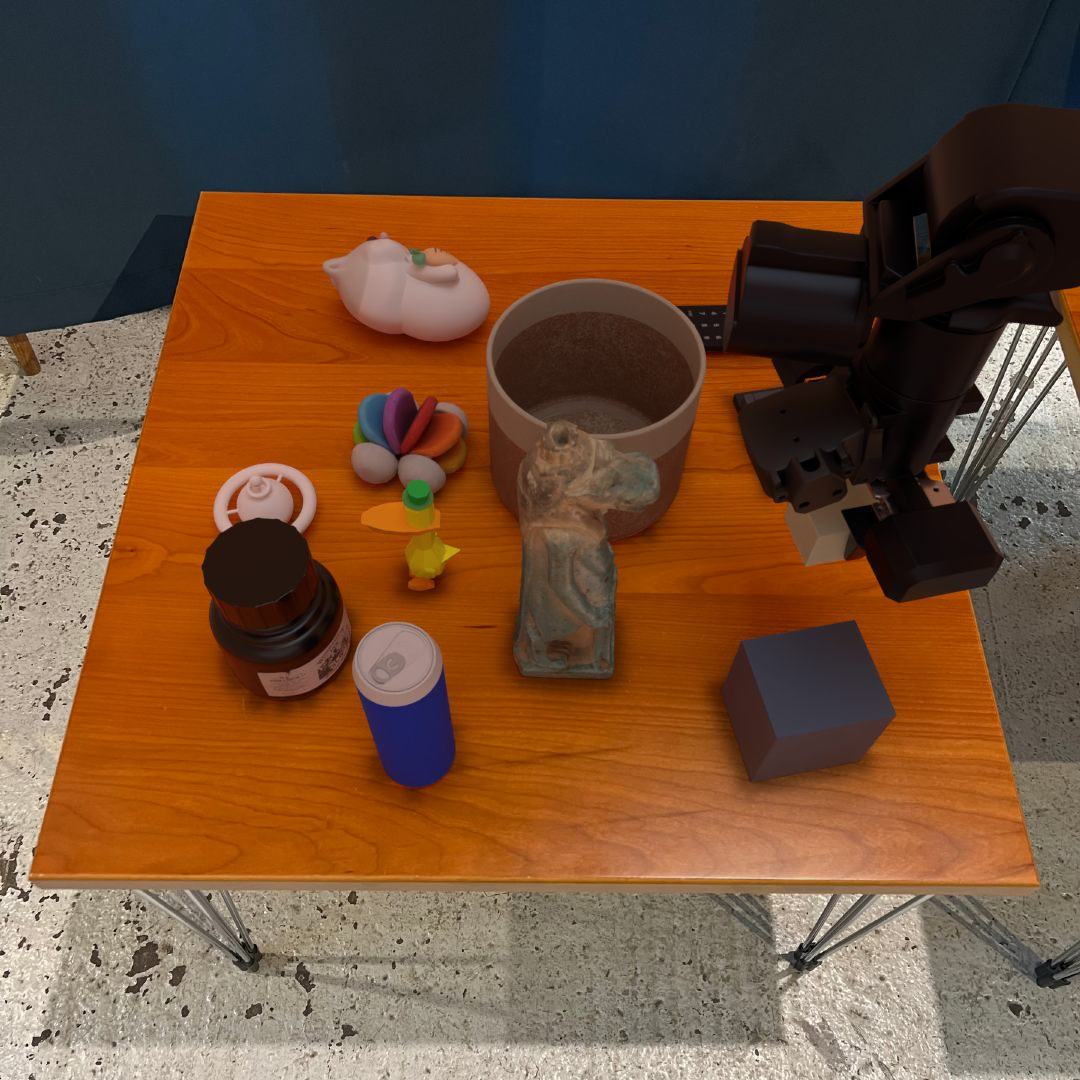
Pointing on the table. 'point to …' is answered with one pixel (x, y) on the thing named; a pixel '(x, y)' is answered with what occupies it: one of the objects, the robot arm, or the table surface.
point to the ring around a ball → (265, 496)
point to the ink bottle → (275, 610)
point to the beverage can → (406, 702)
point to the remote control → (707, 324)
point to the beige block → (825, 527)
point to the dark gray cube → (805, 700)
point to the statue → (573, 549)
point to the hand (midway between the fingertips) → (838, 530)
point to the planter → (595, 381)
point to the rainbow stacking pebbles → (408, 439)
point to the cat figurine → (409, 290)
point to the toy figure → (414, 532)
